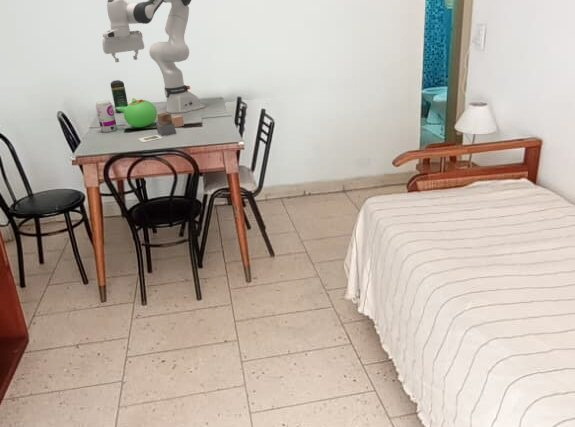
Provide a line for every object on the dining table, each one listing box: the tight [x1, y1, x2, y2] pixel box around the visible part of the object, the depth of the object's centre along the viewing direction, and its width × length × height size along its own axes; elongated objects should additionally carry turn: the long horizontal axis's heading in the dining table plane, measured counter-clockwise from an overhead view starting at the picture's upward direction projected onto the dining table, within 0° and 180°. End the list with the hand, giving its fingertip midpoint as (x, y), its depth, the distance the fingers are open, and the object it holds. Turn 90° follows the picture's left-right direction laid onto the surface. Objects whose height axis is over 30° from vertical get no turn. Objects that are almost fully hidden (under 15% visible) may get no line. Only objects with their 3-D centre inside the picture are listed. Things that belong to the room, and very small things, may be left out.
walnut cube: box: [157, 112, 172, 126], centre depth 258 cm, size 5×5×5 cm
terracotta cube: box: [171, 114, 185, 128], centre depth 274 cm, size 5×5×5 cm
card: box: [137, 134, 163, 143], centre depth 254 cm, size 10×8×1 cm
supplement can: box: [95, 100, 118, 133], centre depth 274 cm, size 8×8×15 cm
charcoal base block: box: [156, 123, 177, 137], centre depth 261 cm, size 7×7×5 cm
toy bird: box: [115, 97, 158, 128], centre depth 276 cm, size 18×17×15 cm
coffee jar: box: [110, 79, 129, 114], centre depth 316 cm, size 10×8×19 cm
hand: (126, 60), depth 267 cm, fingers open, 8 cm apart
